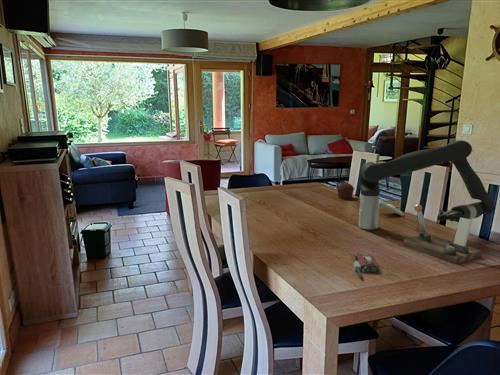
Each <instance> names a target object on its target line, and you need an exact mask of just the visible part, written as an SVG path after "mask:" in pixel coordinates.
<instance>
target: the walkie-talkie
mask: <svg viewBox="0 0 500 375" xmlns="http://www.w3.org/2000/svg"><path fill="white" fill-rule="evenodd" d="M354 260H355V261H354V262H353V270H354V272H357V274H358V276H359V278H361V279H363V278H364V276H363V275H362V273H365V272H366V273H367V272H368V273H370V272H371V273H378V272H379V269H380V268H379V265H378V263H377V261H376V259H375V258H374V255H372V254H369V253H368V254H367V253H358V254H357V255H356V256H354Z"/></svg>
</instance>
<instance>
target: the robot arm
mask: <svg viewBox="0 0 500 375" xmlns="http://www.w3.org/2000/svg"><path fill="white" fill-rule="evenodd" d="M472 151H473V147H472V145H471V143H470V142H468V141H466V140H463V139H461V140H460V139H459V140H452V141H449V143H447V145H444V146H440V147H435V148H427V149H426V148H425V149H421V150H416V151H412V152H408V153H405V154H402V155H400V156H399V157H396V158H394V159H393V160H390V161H384V162H380V163H376V162H374V161H373V162H372V161H368V162H365V163H364V164H362V166H361V169H360V174H359V188H360V198H359V200H360V202H359V207H358V208H359V209H358V227H359V229H361V230H362V229H363V230H369V231H371V230H377V229H378V228H379V216H380V214H379V212H380V203H379V199H380V196H381V195H380V194H381V189H380V185H379V183H380V182H379V181H381V180H385V179H386V178H390V177H393V176H397V175H402V174H408V173H411V172H412V173H413V172H416V171H420V170H424V169H426V168H427V169H428V168H430V167H434V166H437V165H439V164H442V163H446V162H451V163H452V164H453V166H454V167H455V168H456V171H457V172H458V174H459V176H460V177H461V179H462V182H463V183H464V185H465V188H466V190H467V192H468V195H469V196H470V198H471V199H473V200H479V201H477V202H473V203H468V204H467V203H466V204H465V203H464V204H461V205H455V206H453V207H452V208H451V209H450V210H446V211H444V210H442V209H439V213H438V215H437V217H436V218H437V221H440V222H443V221H450V222H456V223H459V220H460V217H461V218H466V219H470V220H473V219H476V218H480V217H482V216H481V215H482V214H489V213H492V212H493V210H494V204H495V203H494V201H495V200H494V199H493V197H492V196H491V195H490V194H489V192H488V191H487V190H486V189H485V187H484V184H483V182H482V180H481V178H480V177H479V175H478V174H477V173H476V172H475V170H474V169H473V167H472V166H471V164H470V162H469V160H468V159H467V158H468V157H470V155H471V154H472ZM491 197H492V198H491ZM380 200H381V199H380ZM493 200H494V201H493Z"/></svg>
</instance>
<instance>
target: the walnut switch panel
mask: <svg viewBox="0 0 500 375" xmlns="http://www.w3.org/2000/svg"><path fill="white" fill-rule="evenodd" d="M427 234H428V235H426V237H425V236H423V234H422V232H419V235H417V236H415V237H414V236H413V237H410V238H405V239H403V246H405V247H408V248H410V249H413V250H416V251H418V252H422V253H424V254H427V255H430V256H433V257H435V258H438V259H440V260H442V261H443V260H444V261H446V262H449V263H452V264H455V265H457V264H461V263H463V262H467V261H470V260H471V261H472V260H473V259H477V258H481V256H482V250H481V249H477V248H473V247H471V246H467V245H466V246H465V247H464V248H463V249H462V248H459V247H456V246H453V244H454V241H451V240H448V239H445V238H441V237H439V236H436V235H434V234H433V235H432V234H429V233H427Z"/></svg>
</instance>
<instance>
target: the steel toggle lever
mask: <svg viewBox="0 0 500 375" xmlns="http://www.w3.org/2000/svg"><path fill="white" fill-rule="evenodd" d="M413 209H414V211H415V212H416V215H417V220H418V223H419V227H420V232H421V233H422V234H423V236H425V237H426V235H428V234H429V233H428V230H427V227H426V222H425V218H424V215H423V211H422V210H423V206H422V205H421V204H419V203H417V204H415V205H414V206H413Z"/></svg>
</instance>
